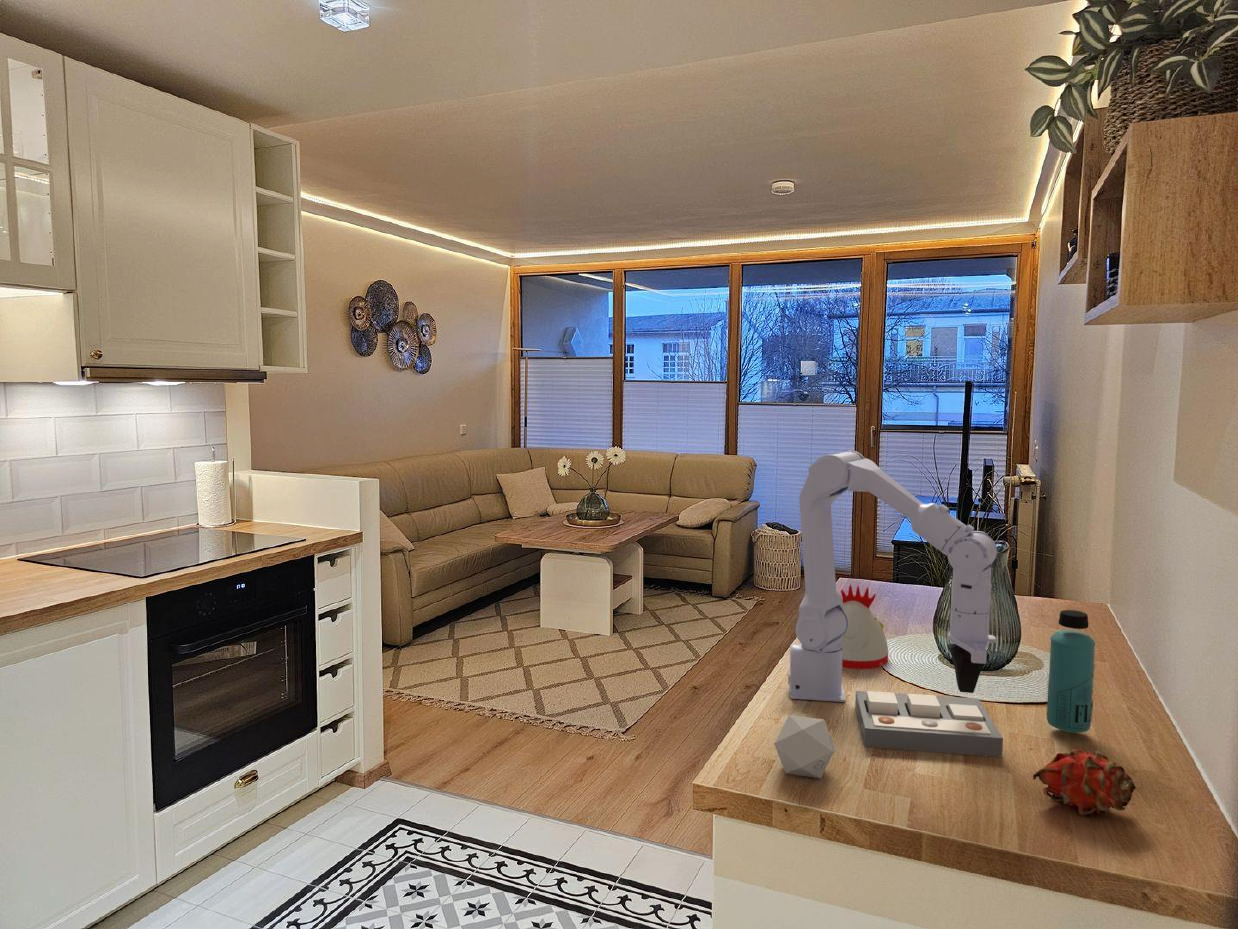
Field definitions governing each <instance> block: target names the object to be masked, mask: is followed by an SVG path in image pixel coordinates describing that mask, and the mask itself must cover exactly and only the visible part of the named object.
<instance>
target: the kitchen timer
mask: <svg viewBox="0 0 1238 929" xmlns="http://www.w3.org/2000/svg"><path fill="white" fill-rule="evenodd" d="M859 586H860V585H857V587H856V591H855V594H854V593H853V588H852V587H853V586H852V584H849V586H848V592H847V594H846V592H845V591H844V589H841V590H840V594H841V598H842V599H843V607H844V610H845V612H846V614H847V616H848V618H849V628H848V630H847V632H846V633H845V634H844V635H843V636H842V643H843V654H842V668H845V669H853V670H855V669H856V670H871V669H876V668H881V667H883V666H886V664H887V663H888V660H889V648H888V647H889V646H888V641H887V637H886V634H885V631H884V627H885V625H884V624H883V623H882V622H881V621H880V619H879V618H878V616H877V614H875V612H874V611H873V610H872V609H871V608H870V607H871V605H872V604H873V602H874V600H875V598H876V594H877V593H876V592H875V593H874V594H873V595H872V596H871V597H870V596H869V594H870V593H869V590H870V589H869V587H868V586H867V587H866V589H865V592H864V595H861V590H860V587H859Z"/></svg>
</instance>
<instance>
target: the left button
mask: <svg viewBox="0 0 1238 929" xmlns="http://www.w3.org/2000/svg"><path fill="white" fill-rule="evenodd" d="M866 692H867V694H866V703H867V707H868V711H869V713H875V714H890V715H898V702H897V699H896V697H895V694H894V693H895V692H889V691H875V690H874V691H872V690H871V691H870V690H866Z"/></svg>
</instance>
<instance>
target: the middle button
mask: <svg viewBox="0 0 1238 929" xmlns="http://www.w3.org/2000/svg"><path fill="white" fill-rule="evenodd" d="M906 694H907V707H908V709H909V712H910V714H911V716H919V717H934V718H940V707H941V706H940V704H939V702H938V700H937V698H936V696H937V695H936V694H935V695H934V694H923V693H921V694H920V693H919V694H918V693H906Z"/></svg>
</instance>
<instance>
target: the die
mask: <svg viewBox="0 0 1238 929" xmlns="http://www.w3.org/2000/svg"><path fill="white" fill-rule="evenodd" d="M773 745H774V748H775V750H776V753H777V755H778V758H779V760H780V763H781V765H782V768H783V770H784V772H785V774H789V775H795V776H802V777H808V778H809V777H810V778H815V779H820V780H821V779H822V778H823V775H824V773H825V772H826V768H827V767H828V765H829V764H830V761H831V759H832V757H833V754H834V752H835V750H836V749H835V745H834V743H833V740H832V737H831V735H830V732H829V729H828V726H827V724H826V721H825V719H823V718H815V717H806V716H802V715H801V716H800V715H793V714H789V715H788V716H787V718H786V720H785V722H784V723H783V726H782V727H781V729H780V731H779V733H778V735H777V737H776V739H775V741H774V743H773Z"/></svg>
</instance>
